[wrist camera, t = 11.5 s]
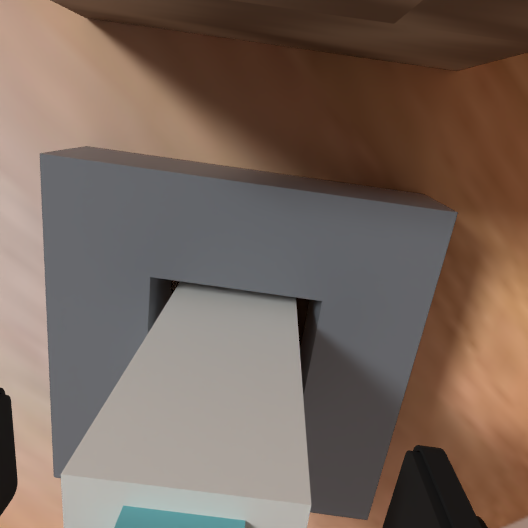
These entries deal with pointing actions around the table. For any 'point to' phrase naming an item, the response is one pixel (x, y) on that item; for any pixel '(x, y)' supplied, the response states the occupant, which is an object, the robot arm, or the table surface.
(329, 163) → the table surface
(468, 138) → the table surface
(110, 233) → the lower socket plate
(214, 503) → the plug peg
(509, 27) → the upper socket tower
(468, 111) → the table surface
